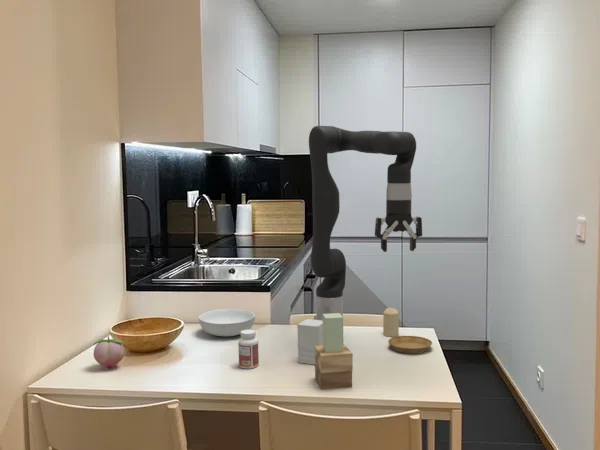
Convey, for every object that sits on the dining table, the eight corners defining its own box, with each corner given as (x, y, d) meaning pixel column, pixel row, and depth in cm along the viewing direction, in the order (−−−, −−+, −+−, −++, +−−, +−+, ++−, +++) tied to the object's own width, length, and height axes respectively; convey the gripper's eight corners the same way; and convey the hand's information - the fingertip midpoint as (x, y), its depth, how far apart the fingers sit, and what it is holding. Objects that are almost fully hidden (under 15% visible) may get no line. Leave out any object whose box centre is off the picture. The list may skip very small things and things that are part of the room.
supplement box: (327, 358, 197) (327, 320, 196) (318, 365, 190) (318, 326, 189) (306, 355, 200) (306, 318, 199) (297, 362, 193) (296, 323, 192)
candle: (398, 337, 220) (398, 310, 219) (382, 336, 221) (382, 309, 220) (398, 333, 225) (399, 306, 224) (383, 332, 226) (383, 306, 225)
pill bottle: (254, 361, 195) (253, 327, 194) (261, 367, 189) (261, 332, 188) (236, 364, 192) (235, 330, 191) (242, 370, 187) (242, 335, 185)
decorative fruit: (126, 362, 195) (125, 331, 194) (123, 370, 187) (122, 339, 186) (96, 364, 193) (94, 333, 192) (91, 372, 185) (90, 340, 184)
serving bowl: (187, 335, 224) (186, 317, 223) (225, 323, 241) (224, 306, 241) (229, 345, 212) (229, 325, 212) (266, 331, 229) (266, 313, 229)
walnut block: (315, 378, 180) (315, 362, 179) (344, 376, 181) (344, 360, 180) (320, 390, 171) (320, 373, 170) (352, 388, 172) (352, 371, 172)
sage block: (322, 347, 177) (322, 313, 176) (339, 346, 178) (339, 313, 177) (325, 352, 172) (325, 318, 171) (343, 351, 173) (343, 317, 172)
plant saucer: (379, 350, 206) (379, 342, 206) (402, 340, 218) (402, 332, 217) (418, 359, 197) (418, 351, 197) (439, 348, 208) (439, 340, 208)
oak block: (314, 362, 179) (314, 346, 178) (344, 360, 181) (344, 344, 180) (321, 373, 170) (321, 355, 170) (352, 370, 172) (352, 353, 171)
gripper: (417, 197, 189) (417, 248, 191) (372, 197, 187) (372, 249, 189) (425, 198, 182) (424, 252, 183) (379, 199, 180) (378, 253, 182)
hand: (398, 251), depth 186 cm, fingers open, 8 cm apart
